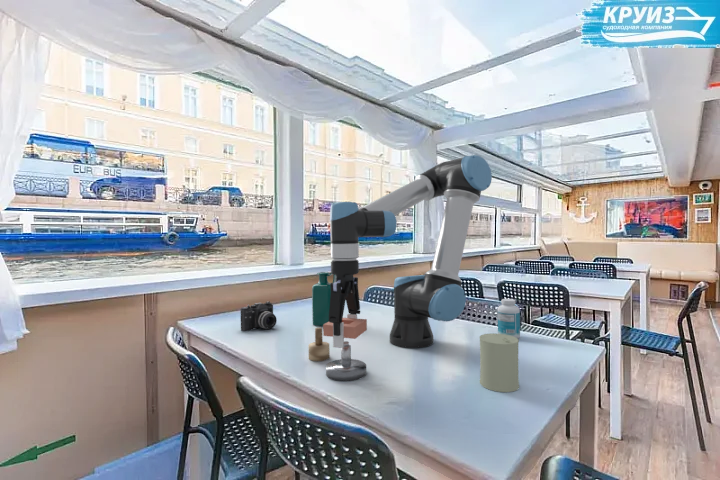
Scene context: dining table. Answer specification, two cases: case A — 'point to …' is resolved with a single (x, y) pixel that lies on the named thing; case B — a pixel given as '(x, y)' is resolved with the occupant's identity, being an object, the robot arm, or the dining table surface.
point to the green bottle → (321, 299)
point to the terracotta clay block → (347, 327)
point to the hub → (346, 366)
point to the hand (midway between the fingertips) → (345, 342)
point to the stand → (318, 348)
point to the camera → (257, 316)
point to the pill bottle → (509, 318)
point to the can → (499, 362)
